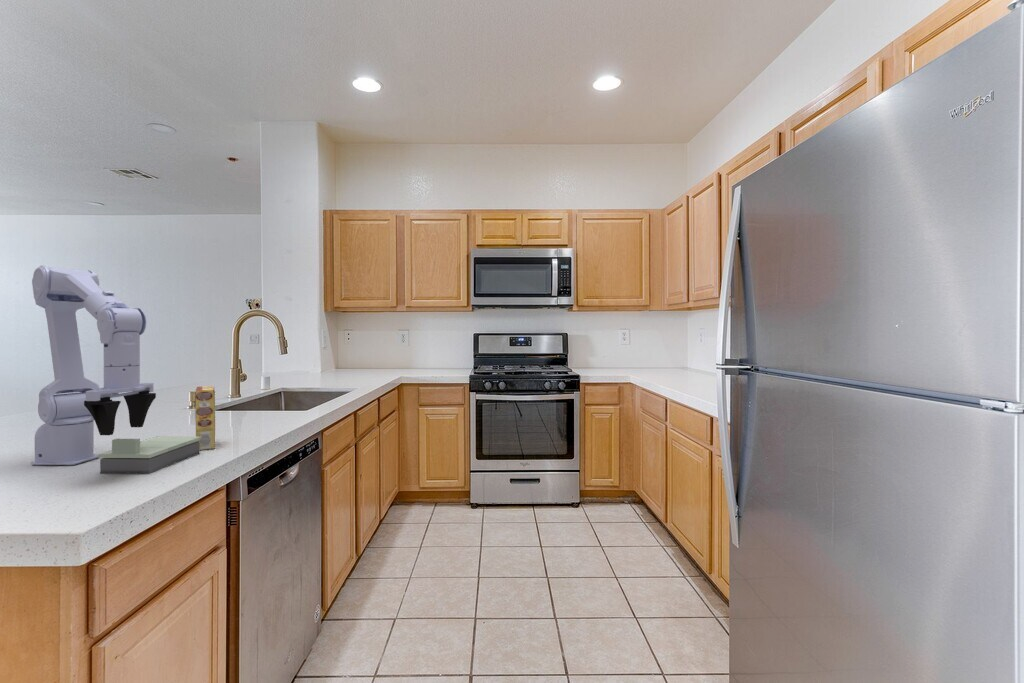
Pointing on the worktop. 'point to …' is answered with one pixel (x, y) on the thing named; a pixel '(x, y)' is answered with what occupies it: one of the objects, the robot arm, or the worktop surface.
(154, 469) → the tub
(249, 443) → the worktop surface
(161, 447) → the lid
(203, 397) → the candy box
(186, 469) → the worktop surface
